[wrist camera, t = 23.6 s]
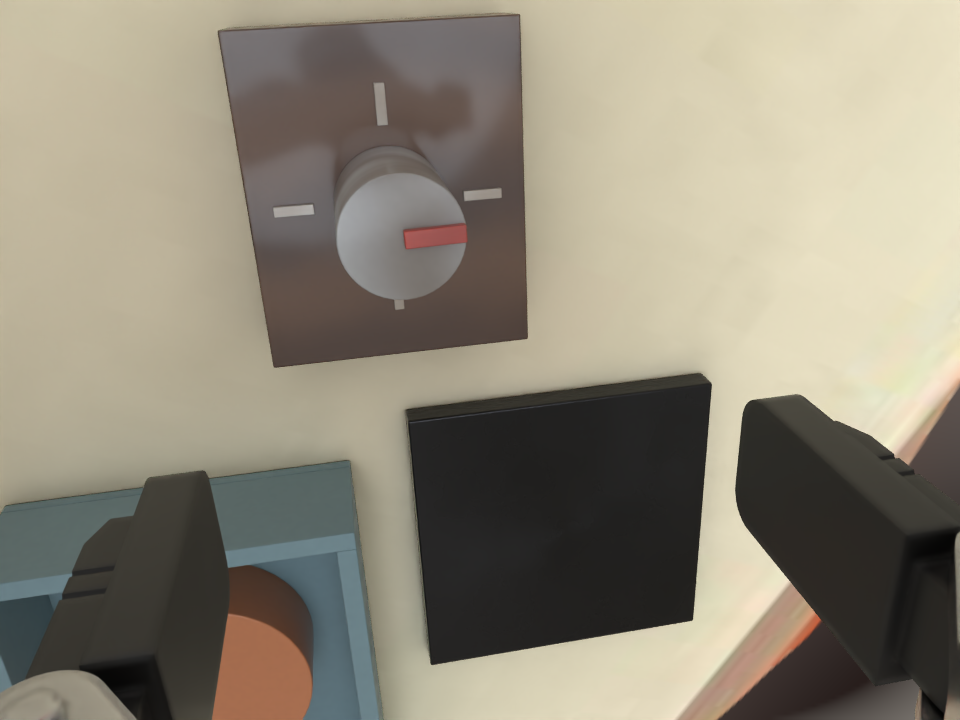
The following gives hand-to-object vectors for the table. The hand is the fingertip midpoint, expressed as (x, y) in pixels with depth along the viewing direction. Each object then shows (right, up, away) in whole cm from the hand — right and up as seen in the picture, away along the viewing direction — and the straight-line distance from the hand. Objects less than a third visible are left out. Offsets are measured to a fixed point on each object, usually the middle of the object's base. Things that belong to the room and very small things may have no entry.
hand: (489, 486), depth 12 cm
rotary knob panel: (-4, +9, +20) cm, 22 cm away
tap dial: (-3, +8, +17) cm, 19 cm away
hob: (+4, -6, +28) cm, 29 cm away
